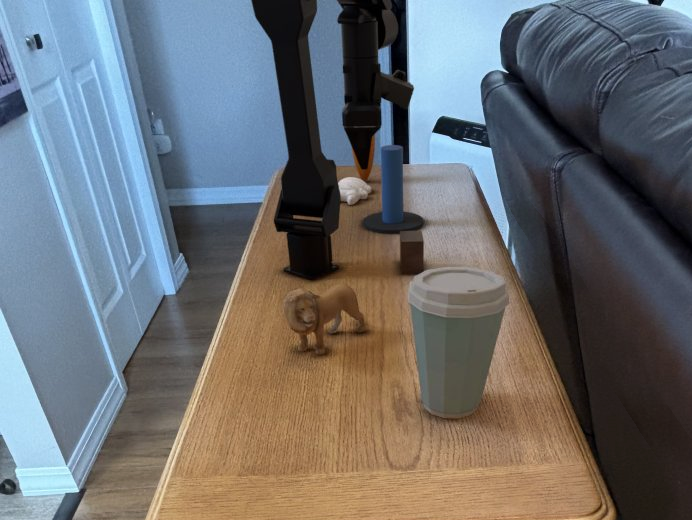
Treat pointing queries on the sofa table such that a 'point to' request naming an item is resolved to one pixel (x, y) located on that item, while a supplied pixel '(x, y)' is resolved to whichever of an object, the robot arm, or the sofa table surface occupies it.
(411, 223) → the coaster
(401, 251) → the lean block
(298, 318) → the lion figurine
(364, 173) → the carrot
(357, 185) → the white turtle figurine
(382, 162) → the tube
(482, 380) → the disposable coffee cup
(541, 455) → the sofa table surface
